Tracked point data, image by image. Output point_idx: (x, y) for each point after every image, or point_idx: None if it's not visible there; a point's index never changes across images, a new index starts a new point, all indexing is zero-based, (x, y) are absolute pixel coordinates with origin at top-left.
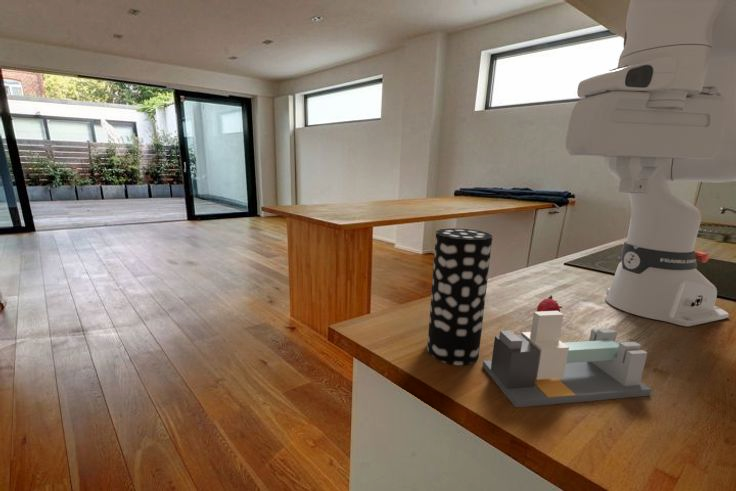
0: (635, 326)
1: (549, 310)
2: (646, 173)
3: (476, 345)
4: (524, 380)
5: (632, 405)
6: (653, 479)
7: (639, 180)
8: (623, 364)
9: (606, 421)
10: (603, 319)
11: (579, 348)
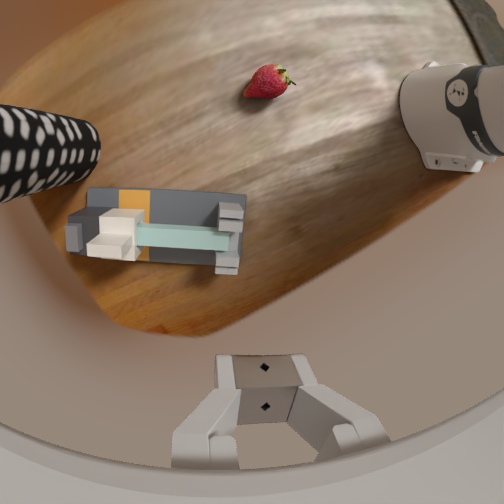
0: (376, 143)
1: (259, 91)
2: (311, 426)
3: (76, 179)
4: None
5: (205, 272)
6: (151, 330)
7: (249, 421)
8: (215, 259)
9: (161, 284)
10: (354, 112)
11: (165, 244)
